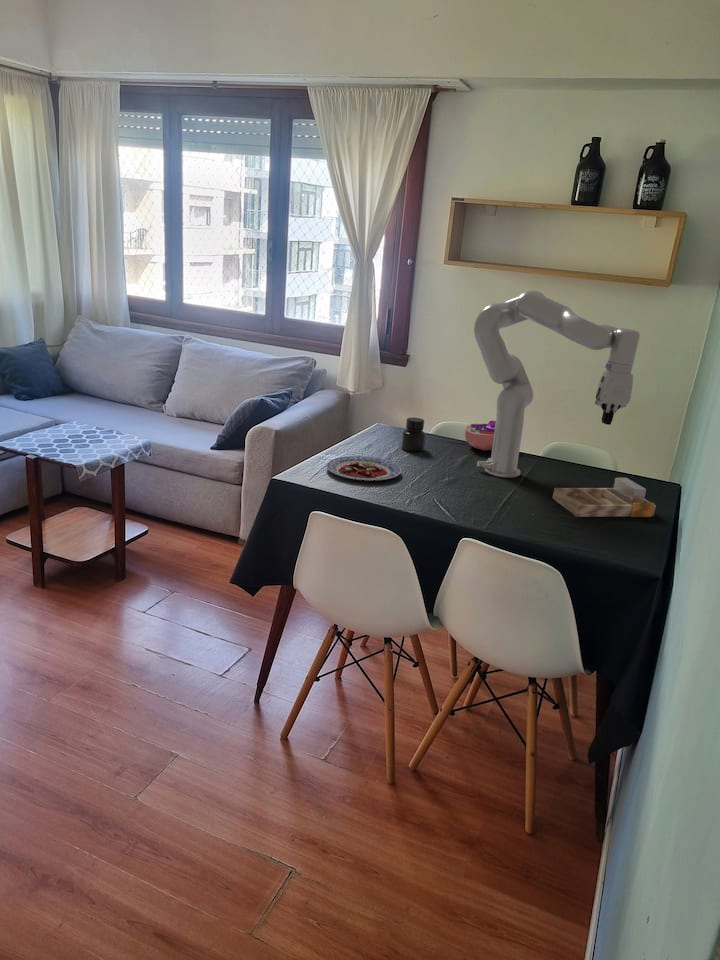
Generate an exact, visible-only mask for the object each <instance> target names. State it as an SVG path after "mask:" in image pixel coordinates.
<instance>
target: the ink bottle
mask: <svg viewBox="0 0 720 960" xmlns="http://www.w3.org/2000/svg"><path fill="white" fill-rule="evenodd" d="M405 423H406V424H405V428H406V429H404V431H403V432H402V436H401V437H402V439H401V449H402V450H403V449H405V450H404V451H406V450H409V451H408V452H410V451H421V452H423V451H424V450H425V446H426V445H425V443H426V433H425V432H424V427H425V419H423V418H421V417H406V422H405Z"/></svg>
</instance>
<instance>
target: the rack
mask: <svg viewBox="0 0 720 960" xmlns="http://www.w3.org/2000/svg"><path fill="white" fill-rule="evenodd" d="M612 492H613V487H598V488H597V487H579V488H578V487H554V488H553V493H552V499H553V500H554V501H555V502H557V503H558V504H559V505H561V506H562V507H564V508H565V510H567V511H569V512H570V513H571V514H572V515H573V516H574V517H576V518H577V517H578V518H579V517H580V518H582V517H583V518H585V517H586V518H589V517H591V518H593V517H595V518H597V517H602V518H603V517H631V518H651V517H654V516H655V513H656V508H657V505H656V504H655V503H654V502H651V501H649V500H648V499H646V498H644V502H643V503H633V505H630V504H628V503H627V502H625V501H624V500H622V499H620V498H619V497H617V496H616V495H614V494H613V493H612Z"/></svg>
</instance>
